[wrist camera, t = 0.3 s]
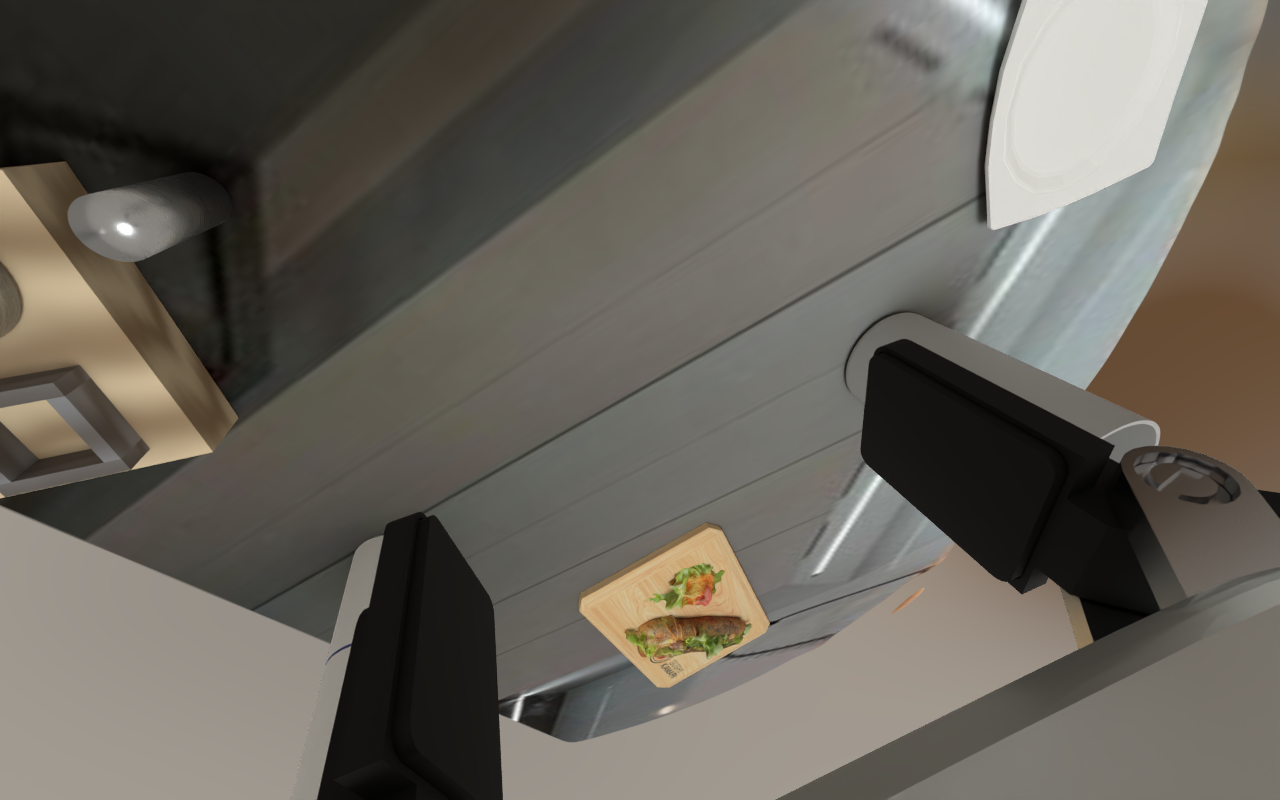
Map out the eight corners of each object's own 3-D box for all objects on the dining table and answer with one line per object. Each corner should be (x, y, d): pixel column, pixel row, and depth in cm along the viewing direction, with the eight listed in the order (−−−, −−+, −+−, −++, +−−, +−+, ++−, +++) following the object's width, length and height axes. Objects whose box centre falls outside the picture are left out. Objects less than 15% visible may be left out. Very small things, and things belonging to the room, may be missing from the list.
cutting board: (570, 594, 67) (580, 643, 61) (712, 514, 67) (737, 554, 61) (658, 682, 87) (673, 725, 81) (767, 620, 88) (790, 658, 82)
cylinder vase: (901, 290, 56) (1149, 394, 35) (940, 344, 62) (1167, 457, 42) (825, 369, 58) (1014, 508, 38) (870, 412, 65) (1051, 550, 45)
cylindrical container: (389, 524, 51) (336, 800, 31) (437, 555, 55) (419, 815, 35) (337, 560, 51) (251, 856, 31) (389, 587, 55) (342, 864, 35)
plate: (997, -35, 41) (1027, -43, 38) (1222, -112, 43) (1262, -124, 41) (959, 239, 55) (979, 244, 53) (1130, 169, 57) (1156, 172, 55)
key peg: (158, 175, 31) (49, 198, 23) (216, 169, 32) (130, 189, 24) (189, 228, 33) (98, 266, 25) (243, 220, 34) (171, 256, 26)
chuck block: (-230, 190, 27) (-436, 214, 21) (65, 161, 30) (-39, 174, 24) (42, 458, 38) (-40, 525, 32) (238, 417, 41) (197, 472, 34)
